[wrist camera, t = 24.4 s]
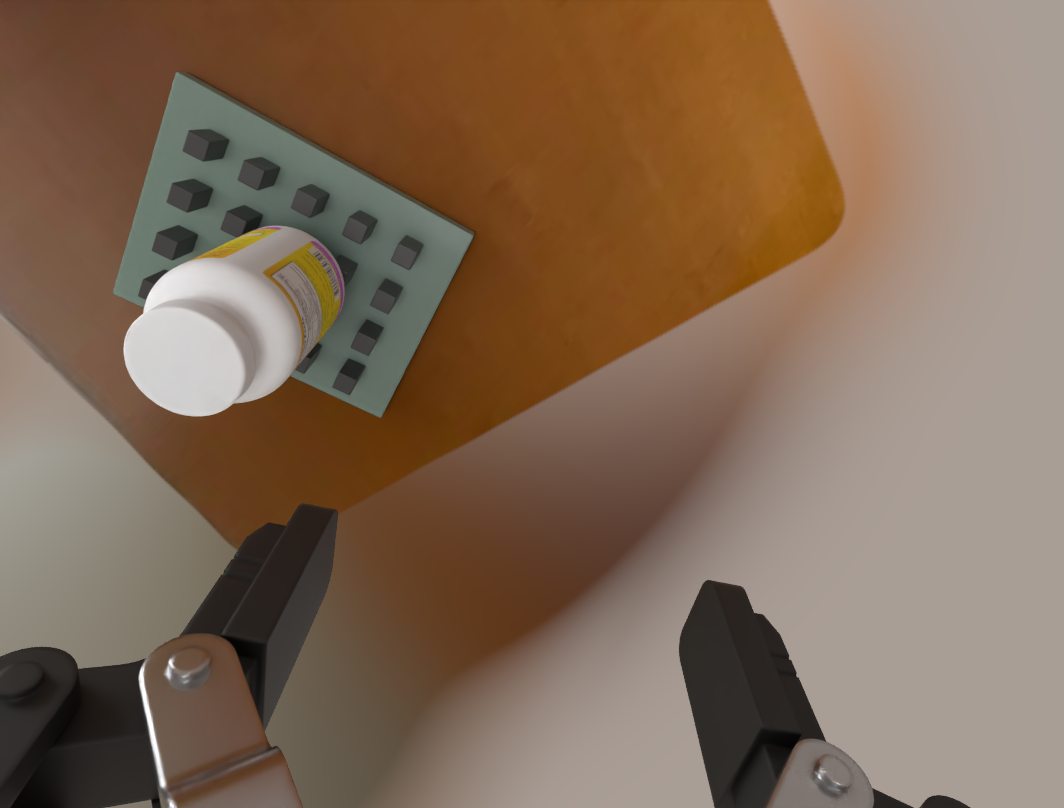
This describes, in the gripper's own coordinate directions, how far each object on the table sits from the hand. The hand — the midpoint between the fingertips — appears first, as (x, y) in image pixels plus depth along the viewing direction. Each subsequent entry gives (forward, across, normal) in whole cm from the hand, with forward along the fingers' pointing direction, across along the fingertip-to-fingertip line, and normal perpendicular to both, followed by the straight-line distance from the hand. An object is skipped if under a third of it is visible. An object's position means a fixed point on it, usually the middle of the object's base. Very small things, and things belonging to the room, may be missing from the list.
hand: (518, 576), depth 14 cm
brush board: (+29, -15, -3) cm, 32 cm away
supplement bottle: (+25, -14, -4) cm, 29 cm away
